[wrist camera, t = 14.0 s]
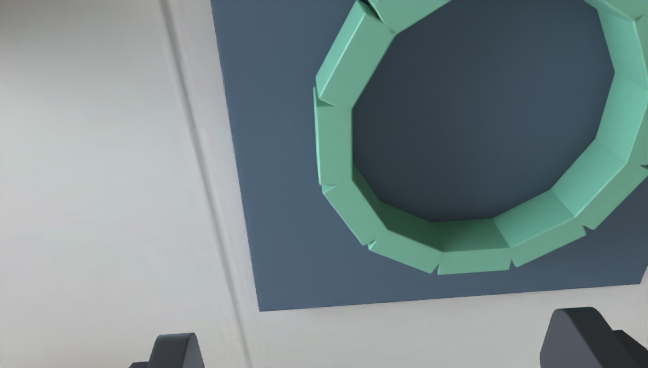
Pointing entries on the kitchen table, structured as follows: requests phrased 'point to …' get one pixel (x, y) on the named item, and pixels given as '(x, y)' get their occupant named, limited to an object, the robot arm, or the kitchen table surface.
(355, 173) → the ring
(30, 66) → the kitchen table surface
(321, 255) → the mat
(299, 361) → the kitchen table surface
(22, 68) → the kitchen table surface
